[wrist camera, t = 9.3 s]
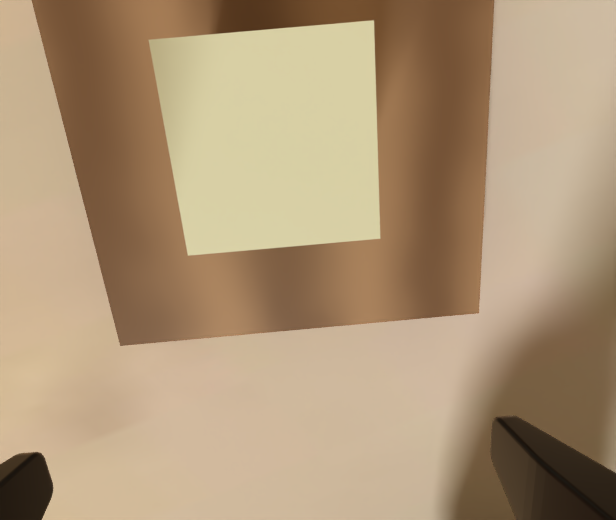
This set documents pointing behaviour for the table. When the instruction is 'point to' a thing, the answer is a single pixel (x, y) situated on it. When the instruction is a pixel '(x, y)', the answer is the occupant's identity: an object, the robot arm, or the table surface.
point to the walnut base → (286, 260)
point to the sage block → (272, 135)
